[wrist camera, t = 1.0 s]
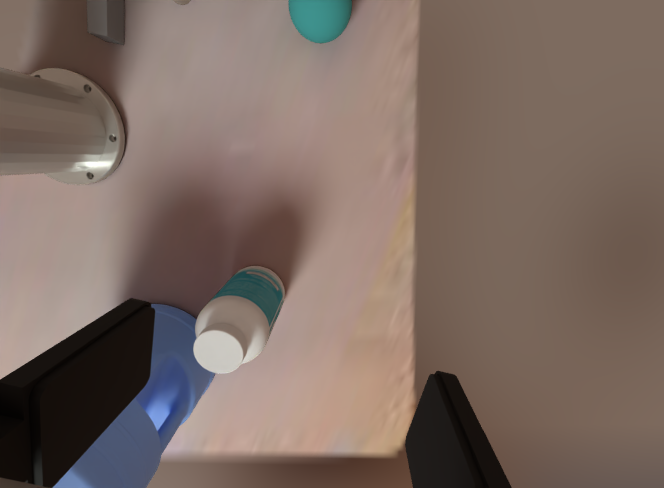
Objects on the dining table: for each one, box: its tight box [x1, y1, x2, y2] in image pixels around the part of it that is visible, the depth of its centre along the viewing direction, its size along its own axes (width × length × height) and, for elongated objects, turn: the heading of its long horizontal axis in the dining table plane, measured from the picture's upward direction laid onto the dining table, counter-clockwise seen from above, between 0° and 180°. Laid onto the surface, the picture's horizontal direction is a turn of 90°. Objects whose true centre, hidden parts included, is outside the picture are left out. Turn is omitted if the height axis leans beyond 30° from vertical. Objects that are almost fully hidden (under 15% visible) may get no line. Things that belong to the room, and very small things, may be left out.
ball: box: [289, 0, 352, 43], centre depth 29 cm, size 6×6×6 cm
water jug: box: [53, 304, 215, 488], centre depth 31 cm, size 16×16×28 cm
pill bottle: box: [193, 266, 285, 374], centre depth 34 cm, size 8×7×14 cm
